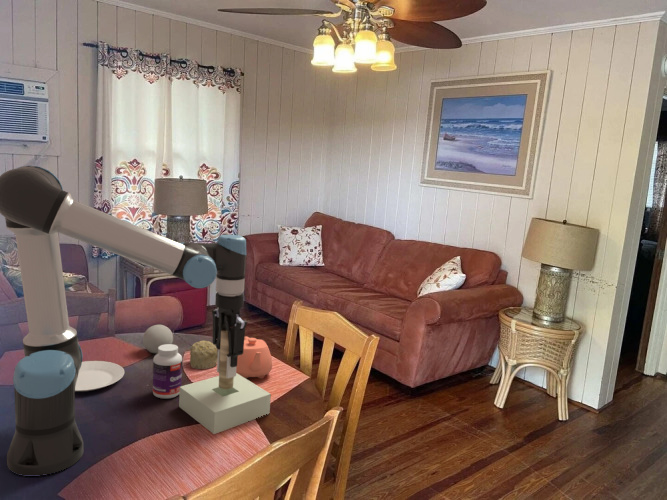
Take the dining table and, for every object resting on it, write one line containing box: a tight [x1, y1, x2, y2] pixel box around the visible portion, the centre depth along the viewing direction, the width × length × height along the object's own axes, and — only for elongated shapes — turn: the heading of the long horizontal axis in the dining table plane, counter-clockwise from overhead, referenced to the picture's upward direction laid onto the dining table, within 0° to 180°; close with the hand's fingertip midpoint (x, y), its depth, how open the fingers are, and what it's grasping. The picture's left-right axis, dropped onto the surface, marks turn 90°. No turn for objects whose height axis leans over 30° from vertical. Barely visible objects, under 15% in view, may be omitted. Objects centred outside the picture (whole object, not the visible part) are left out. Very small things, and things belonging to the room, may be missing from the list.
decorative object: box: [189, 339, 217, 370], centre depth 173 cm, size 9×10×10 cm
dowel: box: [218, 329, 234, 389], centre depth 141 cm, size 4×4×16 cm
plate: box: [75, 360, 125, 392], centre depth 154 cm, size 21×21×2 cm
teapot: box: [236, 335, 273, 380], centre depth 167 cm, size 13×20×12 cm, turn 22°
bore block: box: [178, 373, 272, 435], centre depth 144 cm, size 18×18×6 cm
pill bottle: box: [152, 343, 183, 400], centre depth 150 cm, size 8×8×14 cm
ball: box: [142, 324, 174, 355], centre depth 179 cm, size 10×10×10 cm
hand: (226, 373), depth 142 cm, fingers closed on dowel, 4 cm apart
